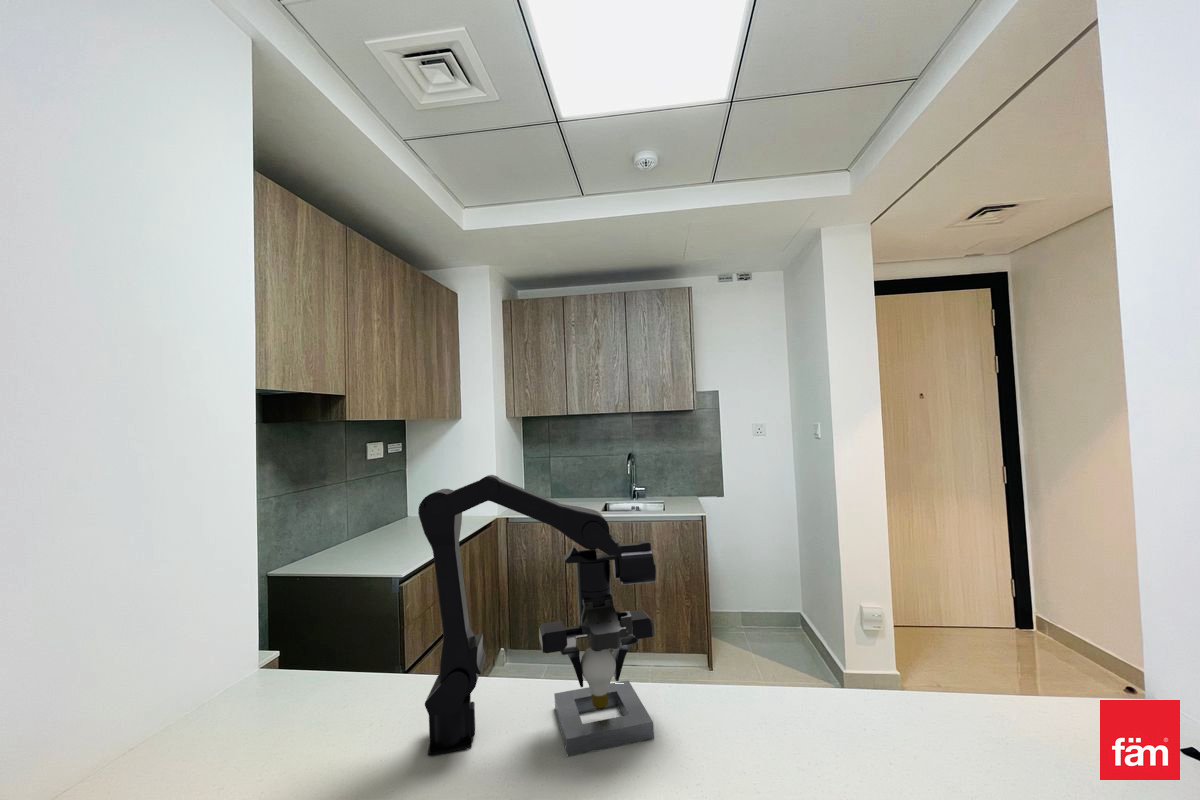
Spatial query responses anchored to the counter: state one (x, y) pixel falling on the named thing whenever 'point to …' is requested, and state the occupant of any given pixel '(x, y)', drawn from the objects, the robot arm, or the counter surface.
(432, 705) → the robot arm
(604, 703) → the light bulb
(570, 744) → the socket collar
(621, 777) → the counter surface
